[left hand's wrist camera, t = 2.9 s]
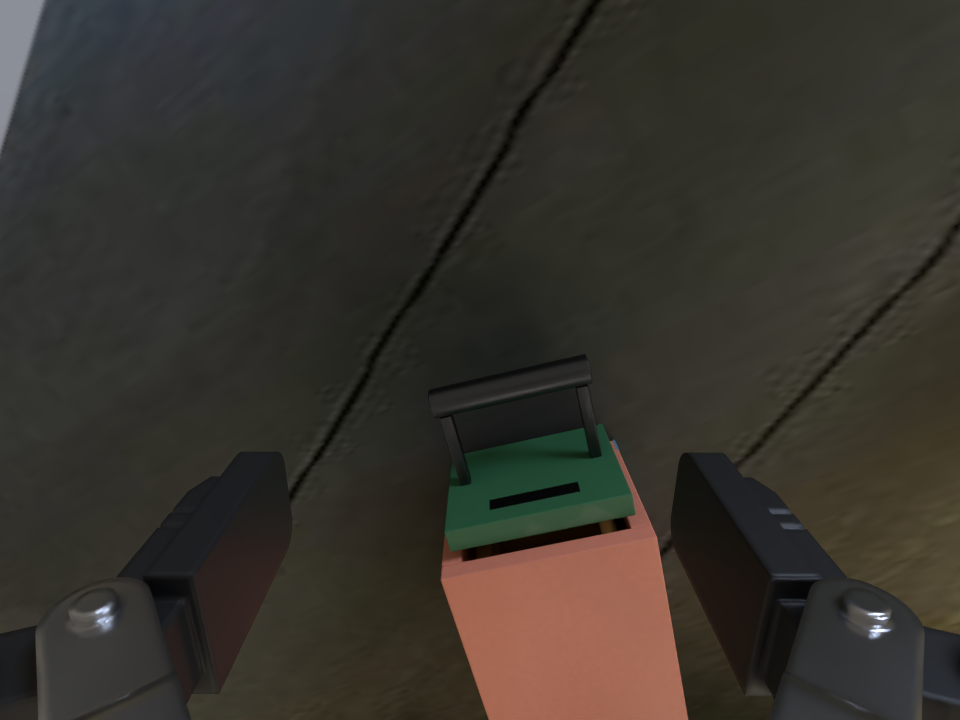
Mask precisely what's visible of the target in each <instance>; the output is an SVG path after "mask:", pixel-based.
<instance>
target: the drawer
mask: <svg viewBox="0 0 960 720" xmlns="http://www.w3.org/2000/svg"><path fill="white" fill-rule="evenodd" d="M591 383H592V376H591V371H590V367H589V363H588V359H587V357H586V355H585V354H583V355H578V356H574V357H570V358H565V359H561V360H557V361H552V362H548V363H544V364H539V365H535V366H530V367H526V368H522V369H517V370H513V371H509V372H504V373H500V374H496V375H491V376H487V377H482V378H478V379H474V380H469V381H465V382H461V383H456V384H452V385H448V386H443V387H439V388H434V389H430V390H429V391H428V399H429V405H430V409H431V412H432V414H433V416H434V418H439V417H440V421H441V425H442V428H443V431H444V434H445V438H446V441H447V444H448V447H449V451H450V454H451V457H452V461H451V471H450V481H449V491H448V500H447V510H446V520H445V530H444V534H445V537H446V540H447V543H448V546H449V549H450V551H451V552H454V551H459V550H464V549H469V548H474V547H476V559H481V558H486V557H491V556H496V555H501V554H506V553H511V552H516V551H521V550H526V549H531V548H536V547H541V546H546V545H551V544H556V543H561V542H566V541H571V540H576V539H581V538H586V537H591V536H596V535H601V534H606V533H611V532H616V531H618V530H617V527H616V524H615V521H614V519H618V518H623V517H628V516H633V515H635V514H636V512H635V507H634V501H633V496H632V493H631V490H630V488H629V486H628V483H627V481H626V478H625V476H624V474H623V471H622V469H621V467H620V464H619V462H618V460H617V457H616V455H615V452H614V450H613V448H612V445H611V443H610V441H609V438H608V436H607V434H606V431H605V429H604V426H603V424H598V425H596V422H595V417H594V412H593V407H592V402H591V397H590V392H589V387H588V384H591ZM573 387H575V388H576V393H577V398H578V403H579V407H580V412H581V417H582V422H583V427H584V428H580V429H575V430H571V431H566V432H562V433H557V434H552V435H548V436H543V437H539V438H534V439H529V440H525V441H520V442H516V443H511V444H506V445H502V446H497V447H493V448H488V449H483V450H479V451H474V452H470V453H465V454H464V451H463V448H462V444H461V441H460V438H459V434H458V431H457V428H456V424H455V421H454V418H453V414H457V413H462V412H466V411H471V410H475V409H480V408H484V407H488V406H493V405H497V404H502V403H506V402H511V401H515V400H520V399H524V398H529V397H533V396H538V395H542V394H546V393H551V392H555V391H560V390H564V389H569V388H573Z"/></svg>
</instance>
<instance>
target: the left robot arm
mask: <svg viewBox="0 0 960 720" xmlns="http://www.w3.org/2000/svg"><path fill="white" fill-rule="evenodd" d="M291 533H292V514H291V507H290V500H289V493H288V486H287V479H286V471H285V464H284V460H283V457H282V455H281V453H280V452H240V453H238V455H237V456H236V457H235V458H234V459H233V461H232V462H231V463H230V465H229V466H228V467H227V468H226V470H225V471H224V472H223V474H222V475H221V476H220V477H210V478H208V479H207V480H205V481H204V482H202V483H201V484H199V485H198V486H196V487H195V488H193V489H191V490H190V491H188V492H187V494H186V495H185V496H184V497H183V498H182V500H181V501H180V502H179V503H178V504H177V506H176V507H175V508H174V509H173V513H170V514H169V515H168V516H167V517H166V519H165V520H164V521H163V522H162V523H161V528H157V529H156V531H155V532H154V533H153V534H152V535H151V536H150V538H149V539H148V540H147V541H146V542H145V544H144V545H143V546H142V547H141V548H140V550H139V551H138V552H137V553H136V554H135V556H134V557H133V558H132V559H131V560H130V561H129V563H128V564H127V565H126V566H125V567H124V569H123V570H122V571H121V572H120V573H119V575H118V576H117V577H116V578H110V579H105V580H101V581H98V582H95V583H92V584H89V585H87V586H84V587H82V588H80V589H78V590H76V591H74V592H72V593H70V594H69V595H67V596H65V597H64V598H62V599H61V600H60V601H58V602H57V603H56V604H55V605H53V606H52V607H51V608H50V609H49V610H48V611H47V612H46V613H45V615H44V616H43V617H42V619H41V620H40V622H39V623H38V625H37V626H33V627H28V628H24V629H19V630H15V631H11V632H6V633H2V634H0V720H191V718H190V714H189V711H188V708H187V702H188V700H189V698H190V696H191V694H219V693H220V690H221V688H222V686H223V684H224V682H225V680H226V678H227V676H228V674H229V672H230V669H231V667H232V665H233V663H234V661H235V659H236V657H237V655H238V653H239V650H240V648H241V646H242V644H243V642H244V640H245V638H246V636H247V634H248V632H249V629H250V627H251V625H252V623H253V621H254V619H255V617H256V615H257V613H258V610H259V608H260V606H261V604H262V602H263V600H264V598H265V596H266V594H267V592H268V589H269V587H270V585H271V583H272V581H273V579H274V577H275V575H276V573H277V570H278V568H279V566H280V564H281V562H282V560H283V558H284V556H285V554H286V552H287V549H288V547H289V543H290V539H291ZM671 535H672V541H673V545H674V548H675V551H676V553H677V555H678V557H679V559H680V561H681V563H682V565H683V567H684V569H685V572H686V574H687V576H688V578H689V580H690V582H691V584H692V586H693V588H694V590H695V592H696V594H697V597H698V599H699V601H700V603H701V605H702V607H703V609H704V611H705V613H706V615H707V617H708V619H709V621H710V624H711V626H712V628H713V630H714V632H715V634H716V636H717V638H718V640H719V642H720V644H721V646H722V648H723V651H724V653H725V655H726V657H727V659H728V661H729V663H730V665H731V667H732V669H733V671H734V673H735V676H736V678H737V680H738V682H739V684H740V686H741V688H742V690H743V692H744V694H745V696H773V698H774V699H775V701H774V704H773V708H772V711H771V714H770V718H769V720H960V635H959V634H954V633H950V632H945V631H941V630H937V629H932V628H928V627H925V626H922V623H921V622H920V620H919V619H918V617H917V616H916V615H915V613H914V612H913V611H912V610H911V609H910V608H909V607H908V606H907V605H905V604H904V603H903V602H902V601H900V600H899V599H898V598H896V597H895V596H893V595H891V594H890V593H888V592H886V591H884V590H882V589H880V588H878V587H876V586H873V585H871V584H868V583H865V582H862V581H859V580H855V579H850V578H847V577H846V575H845V574H844V573H843V572H842V571H841V570H840V568H839V567H838V566H837V565H836V564H835V562H834V561H833V560H832V559H831V558H830V557H829V555H828V554H827V553H826V552H825V551H824V549H823V548H822V547H821V546H820V545H819V544H818V542H817V541H816V540H815V539H814V538H813V536H812V535H811V534H810V533H809V532H808V531H807V529H803V525H802V523H801V522H800V521H799V520H798V519H797V518H796V516H795V515H794V514H791V512H790V509H789V508H788V507H787V506H786V505H785V503H784V502H783V501H782V500H781V499H780V498H779V496H778V495H777V494H776V493H775V492H773V491H772V490H770V489H769V488H767V487H766V486H764V485H763V484H761V483H760V482H758V481H756V480H755V479H753V478H743V476H742V475H741V474H740V473H739V471H738V470H737V469H736V468H735V466H734V465H733V464H732V463H731V461H730V460H729V459H728V457H727V456H726V455H725V454H723V453H683V454H682V456H681V458H680V461H679V465H678V472H677V479H676V486H675V493H674V500H673V507H672V514H671Z"/></svg>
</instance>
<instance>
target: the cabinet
mask: <svg viewBox="0 0 960 720" xmlns="http://www.w3.org/2000/svg"><path fill="white" fill-rule="evenodd" d="M610 443H611V445H612V448H613V450H614V452H615V455H616V457H617V460H618V462H619V464H620V467H621V469H622V471H623V474H624V476H625V478H626V481H627V483H628V486H629V488H630V490H631V493H632V496H633V501H634V507H635V512H636V514H635V515H633V516H628V517H623V518H618V519H614V521H615V524H616V527H617V530H618V531H616V532H611V533H606V534H601V535H596V536H591V537H586V538H581V539H576V540H571V541H566V542H561V543H556V544H551V545H546V546H541V547H536V548H531V549H526V550H521V551H516V552H511V553H506V554H501V555H496V556H491V557H486V558H481V559H476V547H474V548H469V549H464V550H459V551H454V552H451V551H450V549H449V546H448V543H447V540H446V537H445V539H444V549H443V559H442V571H441V583H442V586H443V588H444V591H445V594H446V597H447V600H448V603H449V606H450V609H451V612H452V615H453V618H454V620H455V623H456V626H457V629H458V632H459V635H460V638H461V641H462V644H463V647H464V649H465V652H466V655H467V658H468V661H469V664H470V667H471V670H472V673H473V676H474V679H475V681H476V684H477V687H478V690H479V693H480V696H481V699H482V702H483V705H484V708H485V710H486V713H487V716H488V719H489V720H688V716H687V710H686V704H685V698H684V692H683V686H682V680H681V675H680V669H679V663H678V657H677V651H676V645H675V640H674V634H673V628H672V622H671V616H670V610H669V605H668V599H667V593H666V587H665V581H664V575H663V569H662V564H661V558H660V552H659V546H658V540H657V536H656V534H655V532H654V529H653V527H652V525H651V523H650V520H649V518H648V516H647V513H646V511H645V509H644V507H643V504H642V502H641V500H640V498H639V495H638V493H637V491H636V488H635V486H634V484H633V482H632V479H631V477H630V475H629V473H628V470H627V468H626V466H625V463H624V461H623V459H622V457H621V454H620V452H619V449H618V447H617V444H616V442H615V440H613V441H610Z"/></svg>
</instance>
